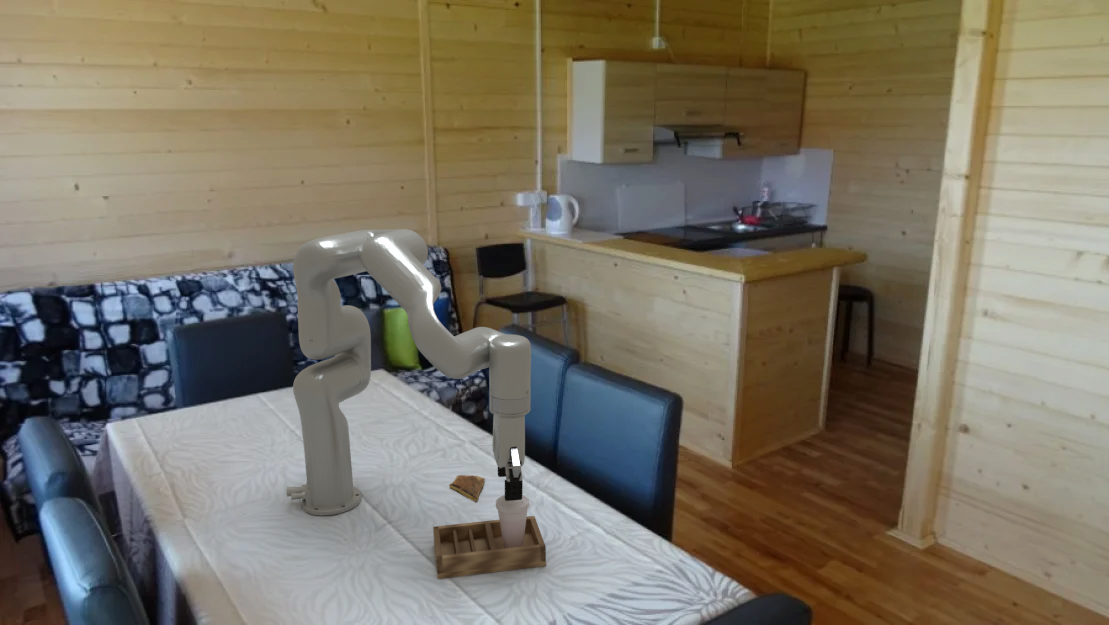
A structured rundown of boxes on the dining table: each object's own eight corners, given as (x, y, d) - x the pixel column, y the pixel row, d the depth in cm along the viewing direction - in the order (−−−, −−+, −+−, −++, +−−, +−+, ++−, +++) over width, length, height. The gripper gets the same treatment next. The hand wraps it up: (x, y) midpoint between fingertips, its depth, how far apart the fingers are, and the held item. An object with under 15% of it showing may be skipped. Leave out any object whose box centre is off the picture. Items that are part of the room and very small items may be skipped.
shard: (477, 505, 172) (476, 497, 172) (442, 503, 173) (442, 496, 173) (486, 482, 183) (485, 475, 182) (453, 481, 184) (453, 474, 183)
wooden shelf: (437, 578, 144) (436, 559, 143) (434, 545, 155) (433, 526, 154) (545, 565, 147) (545, 546, 146) (534, 533, 159) (534, 515, 158)
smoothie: (496, 539, 155) (494, 473, 152) (529, 538, 155) (528, 471, 152) (497, 556, 149) (495, 488, 145) (531, 555, 149) (529, 486, 146)
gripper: (484, 387, 153) (484, 468, 157) (495, 421, 136) (495, 511, 140) (522, 385, 154) (522, 466, 158) (538, 418, 138) (537, 508, 142)
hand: (509, 487), depth 149 cm, fingers open, 9 cm apart
